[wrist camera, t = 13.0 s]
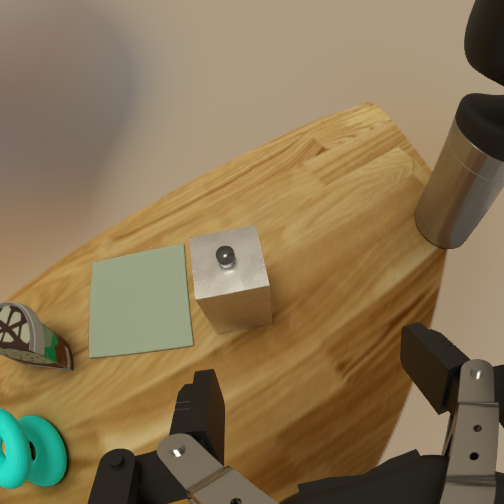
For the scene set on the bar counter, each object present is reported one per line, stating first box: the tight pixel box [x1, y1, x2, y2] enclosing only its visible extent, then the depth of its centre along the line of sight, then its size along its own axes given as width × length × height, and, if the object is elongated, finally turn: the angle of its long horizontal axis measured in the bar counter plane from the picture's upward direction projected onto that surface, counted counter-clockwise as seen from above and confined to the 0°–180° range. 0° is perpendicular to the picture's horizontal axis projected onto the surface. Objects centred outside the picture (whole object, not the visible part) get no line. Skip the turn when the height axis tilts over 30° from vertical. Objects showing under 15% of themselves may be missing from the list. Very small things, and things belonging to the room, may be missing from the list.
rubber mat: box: [89, 243, 194, 358], centre depth 39 cm, size 14×14×1 cm
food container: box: [0, 302, 73, 371], centre depth 32 cm, size 12×6×10 cm, turn 93°
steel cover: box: [189, 225, 273, 334], centre depth 33 cm, size 6×6×12 cm
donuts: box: [0, 408, 67, 489], centre depth 24 cm, size 10×10×10 cm
